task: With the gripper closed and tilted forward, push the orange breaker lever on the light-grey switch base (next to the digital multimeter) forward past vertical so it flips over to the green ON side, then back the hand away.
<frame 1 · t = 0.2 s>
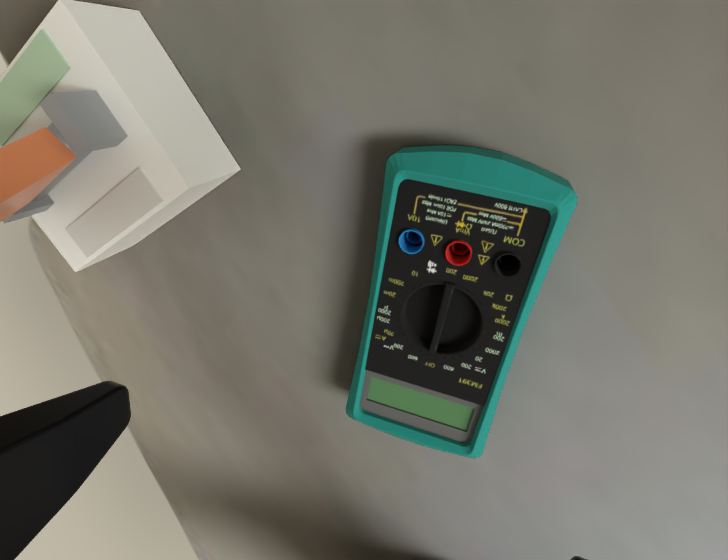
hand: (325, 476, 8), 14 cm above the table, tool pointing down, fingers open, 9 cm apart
switch base: (136, 142, 23), on the table
digital multimeter: (446, 301, 22), on the table
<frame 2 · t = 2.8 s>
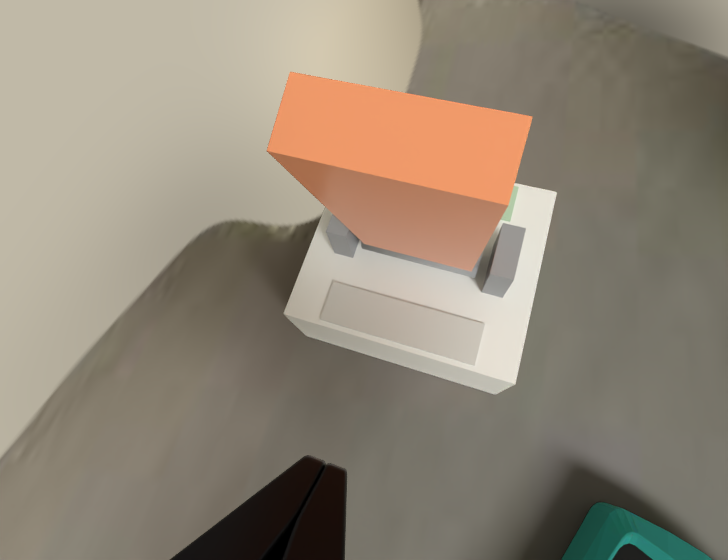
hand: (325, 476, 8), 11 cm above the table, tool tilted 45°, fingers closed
lever: (414, 214, 12), point 9 cm above the table, hinge at -15.0°
switch base: (420, 284, 21), on the table
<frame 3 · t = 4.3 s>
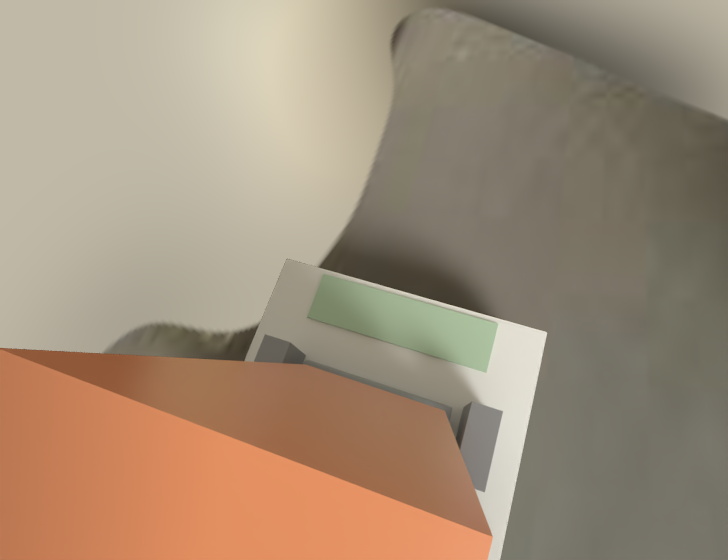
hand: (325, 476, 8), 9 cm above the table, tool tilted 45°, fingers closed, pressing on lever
lever: (337, 430, 8), point 9 cm above the table, hinge at -8.7°, touching gripper
switch base: (380, 418, 17), on the table
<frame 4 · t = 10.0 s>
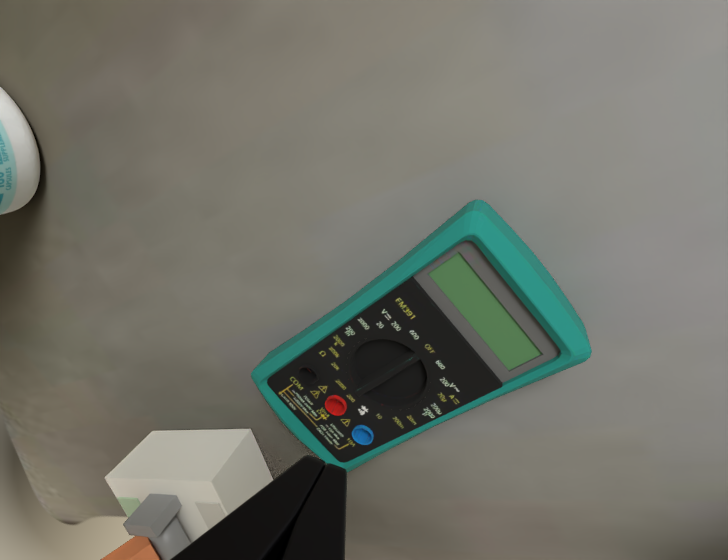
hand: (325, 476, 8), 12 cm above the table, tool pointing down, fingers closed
switch base: (225, 483, 30), on the table
digital multimeter: (407, 338, 22), on the table
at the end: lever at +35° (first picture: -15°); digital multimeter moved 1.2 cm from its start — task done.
